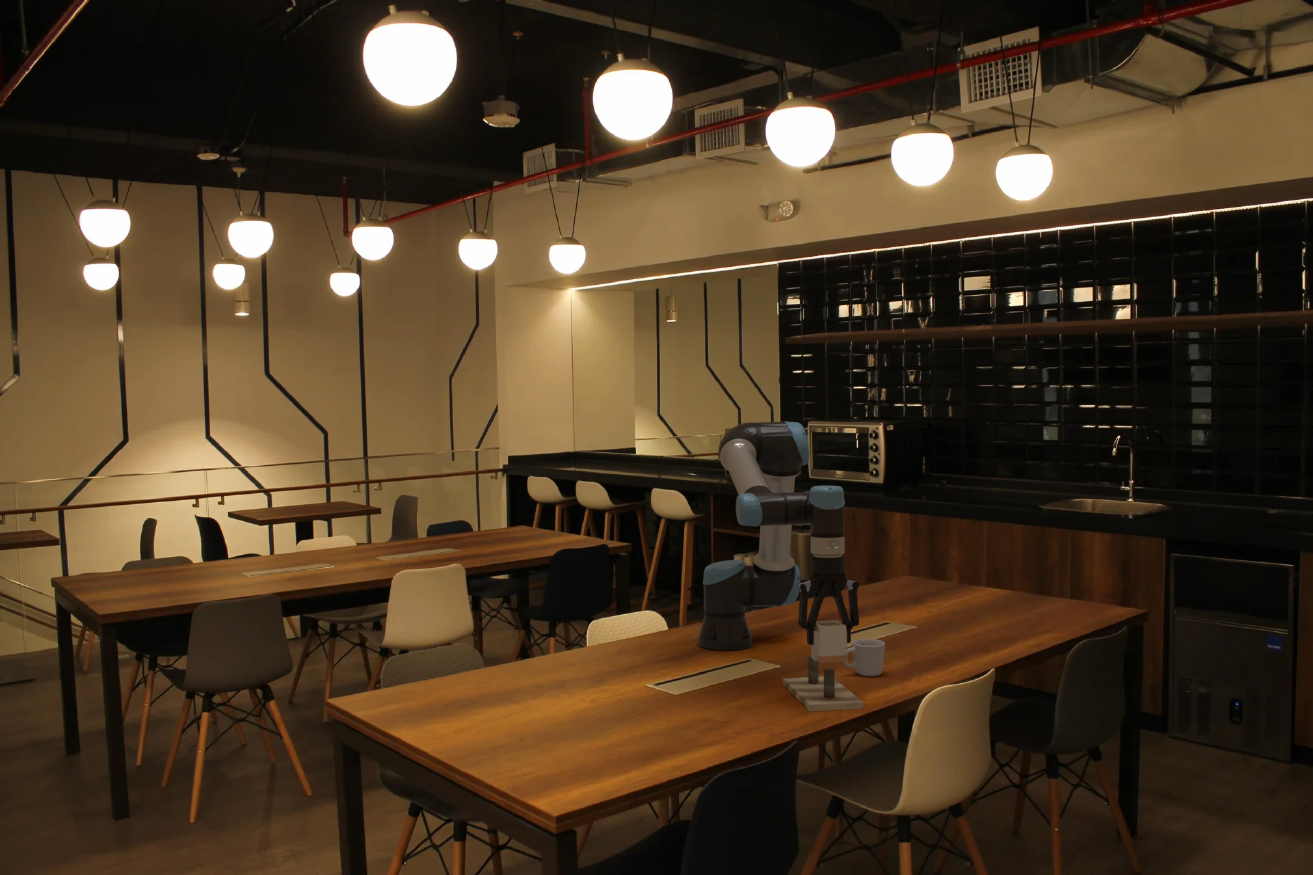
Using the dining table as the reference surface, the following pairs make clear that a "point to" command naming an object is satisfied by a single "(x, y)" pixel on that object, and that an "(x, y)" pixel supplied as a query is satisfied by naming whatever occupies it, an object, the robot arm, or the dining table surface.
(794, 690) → the pin board
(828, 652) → the sleeve
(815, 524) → the robot arm
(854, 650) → the cup
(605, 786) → the dining table surface
